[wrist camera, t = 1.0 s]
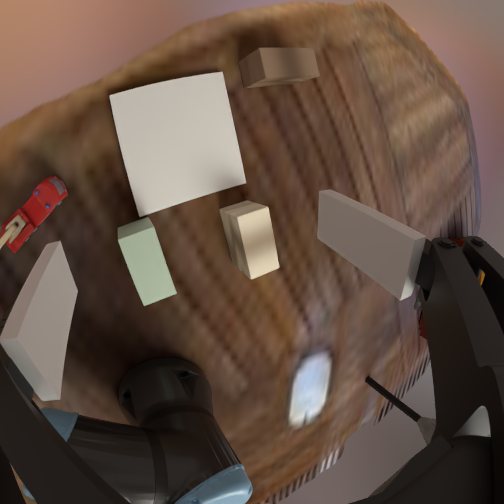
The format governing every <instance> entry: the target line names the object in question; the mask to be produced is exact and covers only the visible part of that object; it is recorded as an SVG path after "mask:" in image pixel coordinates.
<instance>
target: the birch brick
mask: <svg viewBox="0 0 504 504" xmlns="http://www.w3.org/2000/svg"><path fill="white" fill-rule="evenodd" d="M219 210H220V215H221V219H222V223H223V227H224V231H225V235H226V239H227V243H228V247H229V251H230V255H231V259H232V263H233V265H235V266H236V267H237V268H238V269H239V270H241V271H242V272H243V273H244V274H245V275H247V276H248V277H249V278H250V279H254V278H256V277H259V276H261V275H263V274H266V273H268V272H270V271H273V270H275V269H277V268H279V263H278V257H277V252H276V246H275V241H274V235H273V230H272V224H271V219H270V214H269V208H268V207H267V206H263V205H260V204H257V203H254V202H250V201H247V200H246V201H243V202H240V203H237V204H234V205H230V206H227V207H224V208H221V209H219Z"/></svg>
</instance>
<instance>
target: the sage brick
mask: <svg viewBox="0 0 504 504" xmlns="http://www.w3.org/2000/svg"><path fill="white" fill-rule="evenodd" d="M118 242H119V244H120V247H121V250H122V253H123V255H124V258H125V261H126V263H127V266H128V268H129V271H130V274H131V276H132V279H133V281H134V284H135V286H136V288H137V291H138V293H139V296H140V298H141V300H142V303H143V305H144V306H146V305H148V304H151V303H154V302H156V301H159V300H161V299H164V298H166V297H169V296H171V295H174V294H177V293H176V290H175V287H174V285H173V282H172V279H171V276H170V273H169V271H168V268H167V265H166V262H165V259H164V256H163V253H162V250H161V247H160V244H159V241H158V238H157V235H156V231H155V228H154V226H153V224H152V223H151V221H150V219H149V217H146V218H143V219H140V220H137V221H135V222H132V223H129V224H127V225H124V226H121V227H118Z"/></svg>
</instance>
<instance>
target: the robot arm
mask: <svg viewBox="0 0 504 504" xmlns="http://www.w3.org/2000/svg"><path fill="white" fill-rule="evenodd" d="M317 238H318V239H319V240H321V241H322V242H323V243H325V244H326V245H328V246H329V247H330V248H332V249H333V250H334V251H336V252H337V253H338V254H340V255H341V256H343V257H344V258H345V259H347V260H348V261H349V262H351V263H352V264H353V265H355V266H356V267H357V268H359V269H360V270H361V271H363V272H364V273H365V274H367V275H368V276H369V277H370V278H372V279H373V280H374V281H376V282H377V283H378V284H380V285H381V286H382V287H383V288H385V289H386V290H387V291H389V292H390V293H391V294H392V295H394V296H395V297H396V298H397V299H399V300H402V299H405V298H407V297H409V296H411V295H412V292H413V288H414V285H415V283H417V284H418V285H419V286H420V289H419V292H418V296H417V299H416V302H415V305H414V309H416V308H417V306H418V305H419V304H421V306H420V309H419V310H422V314H423V319H424V324H425V329H426V335H427V340H428V347H429V353H430V360H431V367H432V376H433V384H434V395H435V408H436V427H435V430H434V433H433V435H432V438H431V441H430V444H429V445H427V446H426V447H425V448H424V449H423V450H421V451H420V452H419V453H418V454H416V455H415V456H414V457H413V458H411V459H410V460H409V461H408V462H407V463H406V464H405V465H404V466H403V467H402V468H401V469H399V471H397V472H396V473H395V474H394V475H393V476H392V477H390V478H389V479H388V480H387V481H386V482H384V483H383V484H382V485H381V486H380V487H379V488H377V489H376V490H375V491H374V492H373V493H372V494H371V495H370V496H369V497H368V498H365V499H362V500H360V501H356V502H353V503H350V504H504V258H503V257H502V256H501V255H500V254H499V253H498V252H497V251H495V250H494V249H493V248H492V247H491V246H490V245H489V244H487V242H485V241H484V240H482V239H481V238H480V237H477V236H467V237H466V238H465V241H464V245H463V247H459V246H458V245H457V244H456V243H455V242H453V241H451V240H449V239H447V238H434V239H433V240H432V242H431V241H429V240H428V239H426V236H424V235H423V234H421V233H419V232H417V231H415V230H413V229H411V228H409V227H408V226H406V225H404V224H402V223H400V222H398V221H396V220H394V219H392V218H390V217H388V216H386V215H384V214H382V213H380V212H378V211H376V210H374V209H372V208H370V207H368V206H365V205H363V204H361V203H359V202H357V201H355V200H353V199H351V198H348V197H346V196H344V195H342V194H340V193H337V192H335V191H333V190H324V191H319V211H318V232H317ZM482 271H483V272H484V274H485V277H484V279H483V282H482V285H480V283H479V281H478V280H479V277H480V275H481V272H482ZM77 293H78V290H77V287H76V285H75V282H74V279H73V277H72V274H71V271H70V268H69V265H68V263H67V260H66V257H65V254H64V251H63V247H62V244H61V241H57V242H53V243H49V244H47V245H46V246H45V248H44V250H43V251H42V253H41V255H40V256H39V258H38V260H37V262H36V263H35V265H34V267H33V269H32V270H31V272H30V274H29V276H28V278H27V280H26V282H25V284H24V286H23V287H22V289H21V291H20V293H19V295H18V297H17V300H16V302H13V303H12V304H11V305H10V307H9V308H8V309H7V310H6V312H5V314H4V316H3V318H2V321H1V322H0V504H26V503H25V500H24V498H23V496H22V493H21V491H20V489H19V486H18V484H17V481H16V479H15V476H14V473H13V471H12V468H11V465H12V467H13V468H14V470H15V471H16V473H17V475H18V476H19V478H20V479H21V481H22V482H23V492H24V494H25V495H26V496H28V497H30V498H31V499H33V500H35V501H36V502H37V504H245V503H246V502H247V500H248V499H249V498H250V496H251V493H252V484H251V482H250V480H249V478H248V476H247V474H246V473H245V471H244V466H243V465H242V464H241V462H240V461H239V459H238V458H237V456H236V454H235V453H234V451H233V449H232V448H231V446H230V444H229V443H228V441H227V439H226V438H225V436H224V434H223V432H222V431H221V429H220V427H219V425H218V424H217V422H216V420H215V418H214V416H213V407H212V392H211V387H210V384H209V382H208V380H207V378H206V377H205V375H204V373H203V372H202V370H201V369H200V368H198V367H197V366H196V365H194V364H193V363H191V362H189V361H186V360H183V359H178V358H167V357H166V358H156V359H151V360H148V361H145V362H143V363H140V364H138V365H137V366H135V367H134V368H132V369H131V370H130V371H129V372H127V374H126V375H125V376H124V377H123V379H122V380H121V382H120V385H119V390H118V395H119V402H120V407H121V410H122V412H123V414H124V415H125V417H126V418H127V420H128V422H129V423H130V425H126V424H120V423H115V422H109V421H104V420H100V419H95V418H91V417H87V416H82V415H78V414H79V413H77V412H73V413H70V412H66V411H61V410H57V409H53V408H42V409H39V407H38V406H37V405H36V404H35V402H34V401H33V400H32V397H33V390H34V391H35V393H36V394H37V395H38V396H39V398H40V399H41V400H42V401H49V400H59V399H60V396H61V385H62V376H63V368H64V361H65V354H66V348H67V342H68V336H69V330H70V325H71V320H72V315H73V311H74V306H75V302H76V297H77ZM490 433H491V437H487V436H488V435H489V434H490ZM10 463H11V465H10Z"/></svg>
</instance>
